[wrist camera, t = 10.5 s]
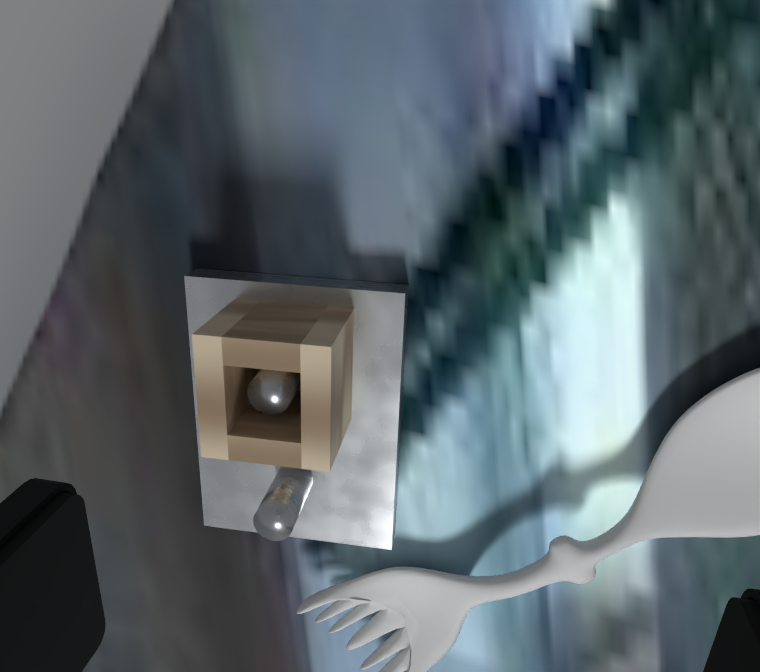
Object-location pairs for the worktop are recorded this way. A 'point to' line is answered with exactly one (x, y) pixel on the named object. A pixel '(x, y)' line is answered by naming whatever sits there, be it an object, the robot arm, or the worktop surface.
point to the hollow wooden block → (280, 353)
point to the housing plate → (371, 420)
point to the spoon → (566, 555)
